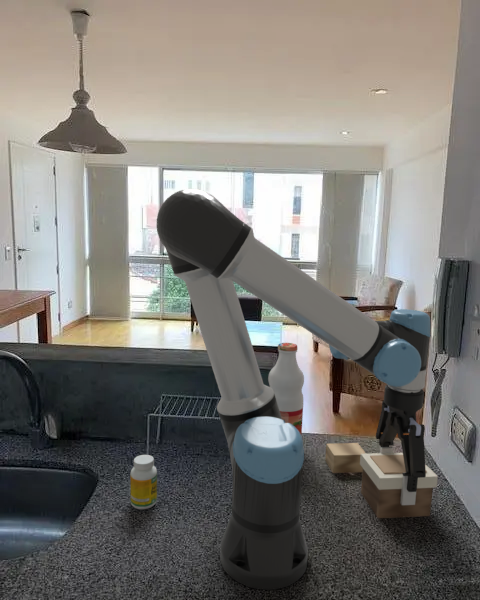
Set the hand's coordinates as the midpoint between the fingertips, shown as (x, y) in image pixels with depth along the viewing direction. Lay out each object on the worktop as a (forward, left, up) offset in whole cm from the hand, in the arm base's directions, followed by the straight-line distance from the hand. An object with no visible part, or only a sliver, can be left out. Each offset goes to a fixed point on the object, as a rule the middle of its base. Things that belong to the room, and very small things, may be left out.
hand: (395, 489), depth 97 cm
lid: (0, 0, +3) cm, 3 cm away
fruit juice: (-18, +27, -4) cm, 33 cm away
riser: (-5, +16, -4) cm, 17 cm away
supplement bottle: (-52, +5, -4) cm, 52 cm away
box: (0, 0, -4) cm, 4 cm away
